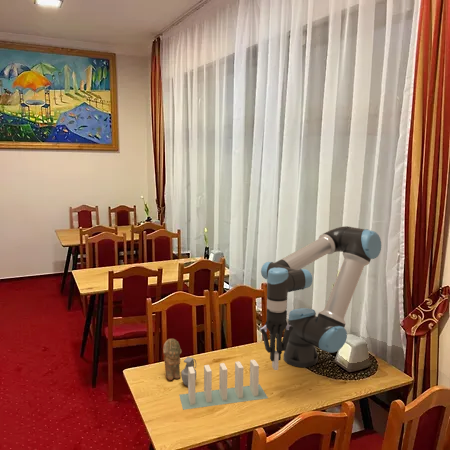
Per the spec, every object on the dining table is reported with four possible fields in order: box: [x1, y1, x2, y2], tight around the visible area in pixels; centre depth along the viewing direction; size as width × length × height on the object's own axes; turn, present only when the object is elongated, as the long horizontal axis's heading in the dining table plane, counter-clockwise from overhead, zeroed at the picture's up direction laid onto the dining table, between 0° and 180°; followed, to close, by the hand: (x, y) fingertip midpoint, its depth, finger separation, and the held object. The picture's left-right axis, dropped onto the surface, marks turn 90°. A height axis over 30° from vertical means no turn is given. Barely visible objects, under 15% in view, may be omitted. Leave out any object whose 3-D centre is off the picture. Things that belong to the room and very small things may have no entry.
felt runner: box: [178, 383, 269, 411], centre depth 158 cm, size 32×10×1 cm, turn 104°
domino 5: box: [249, 359, 260, 396], centre depth 160 cm, size 2×5×12 cm, turn 14°
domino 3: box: [218, 362, 228, 400], centre depth 157 cm, size 2×5×12 cm, turn 14°
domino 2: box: [203, 364, 213, 402], centre depth 156 cm, size 2×5×12 cm, turn 14°
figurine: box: [162, 338, 182, 381], centre depth 173 cm, size 8×8×15 cm
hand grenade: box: [180, 356, 197, 387], centre depth 167 cm, size 6×6×11 cm
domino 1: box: [187, 367, 196, 405], centre depth 155 cm, size 2×5×12 cm, turn 14°
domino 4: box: [234, 360, 244, 398], centre depth 159 cm, size 2×5×12 cm, turn 14°
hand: (275, 368), depth 162 cm, fingers closed
